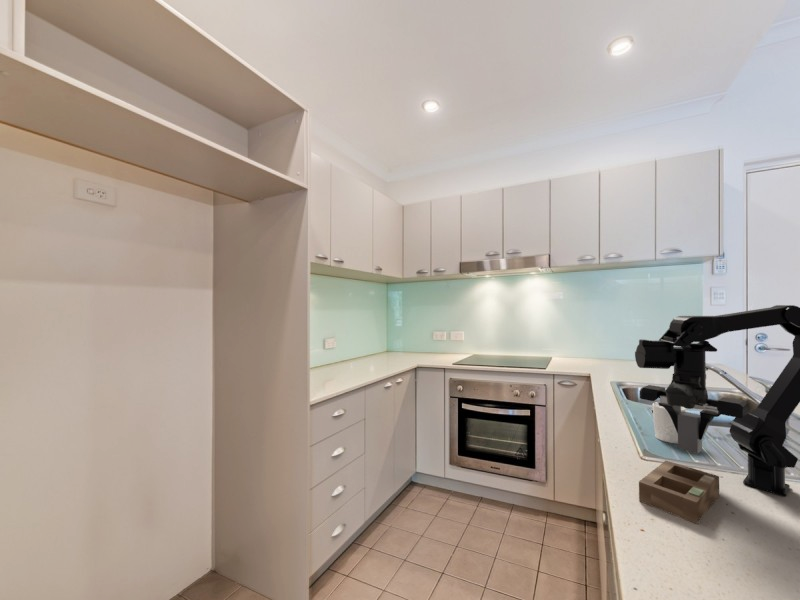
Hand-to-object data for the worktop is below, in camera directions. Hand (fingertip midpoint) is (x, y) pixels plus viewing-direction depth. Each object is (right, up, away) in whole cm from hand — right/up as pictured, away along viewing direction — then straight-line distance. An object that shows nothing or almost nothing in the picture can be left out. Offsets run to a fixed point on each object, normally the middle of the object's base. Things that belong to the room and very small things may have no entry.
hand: (689, 436), depth 81 cm
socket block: (-9, -10, -8) cm, 15 cm away
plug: (0, -3, 0) cm, 3 cm away
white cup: (+13, -10, +23) cm, 28 cm away
